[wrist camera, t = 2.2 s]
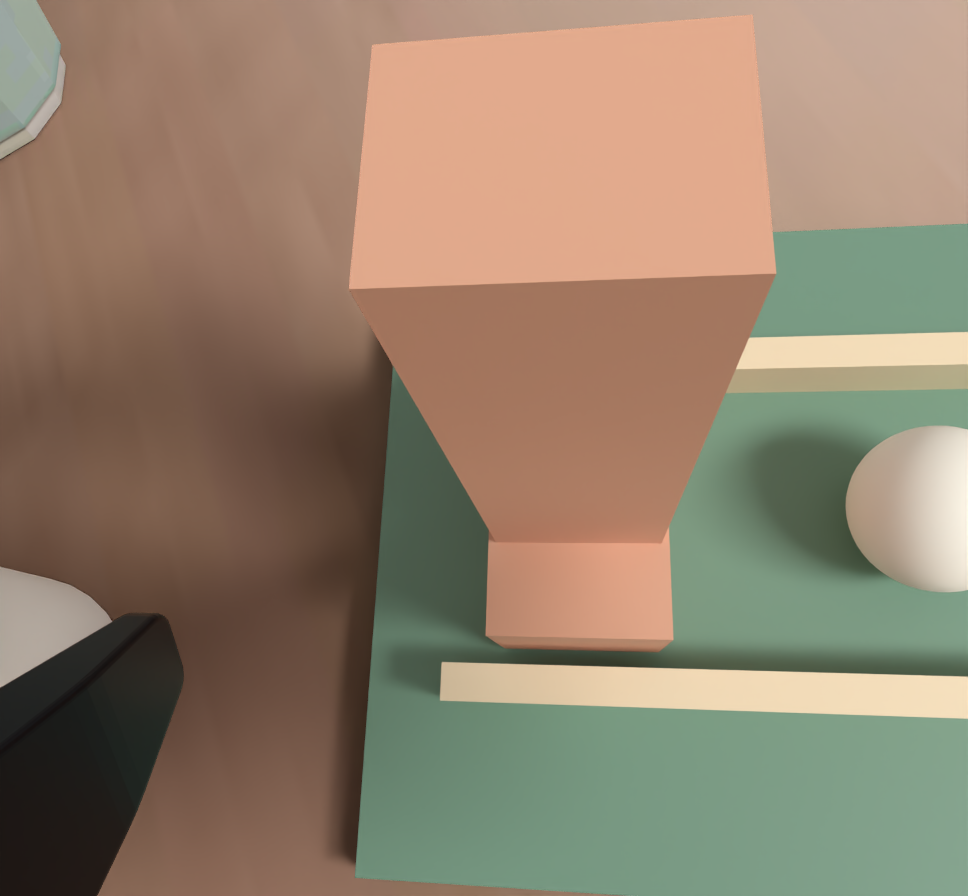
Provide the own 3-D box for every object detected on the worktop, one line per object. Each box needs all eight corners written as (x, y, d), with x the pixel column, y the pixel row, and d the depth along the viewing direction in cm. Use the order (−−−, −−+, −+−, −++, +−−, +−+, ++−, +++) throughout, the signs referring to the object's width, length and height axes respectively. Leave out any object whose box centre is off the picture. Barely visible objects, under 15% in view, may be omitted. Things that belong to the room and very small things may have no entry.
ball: (910, 634, 18) (983, 617, 14) (794, 516, 19) (837, 475, 15) (1021, 536, 18) (1119, 497, 15) (901, 426, 19) (966, 366, 16)
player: (658, 652, 18) (822, 517, 5) (504, 648, 18) (306, 515, 6) (649, 405, 20) (755, -147, 7) (510, 406, 20) (370, -105, 7)
